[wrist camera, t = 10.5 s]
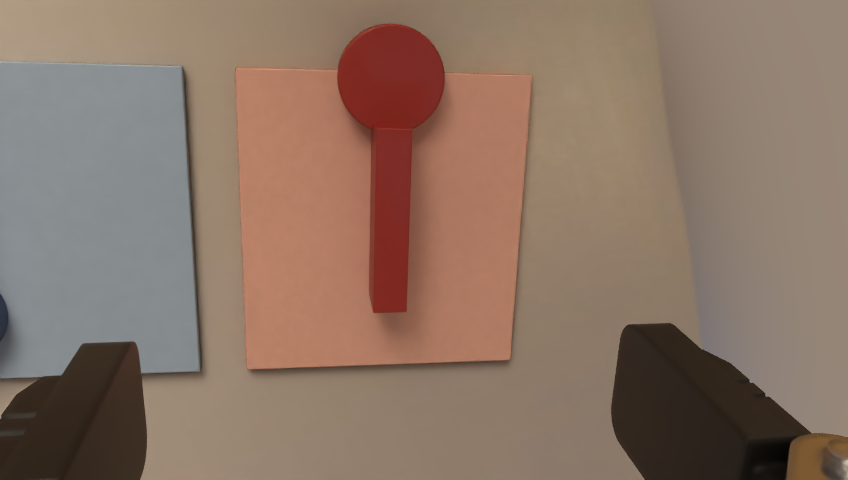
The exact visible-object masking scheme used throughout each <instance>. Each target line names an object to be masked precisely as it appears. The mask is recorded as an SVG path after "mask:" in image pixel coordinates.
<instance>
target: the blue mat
mask: <svg viewBox="0 0 848 480" xmlns="http://www.w3.org/2000/svg"><path fill="white" fill-rule="evenodd" d="M0 294H1V295H2V297H3V299H4V301H5V304H6V307H7V312H8V326H7V330H6V333H5V335H4V337H3V339H2V340H1V342H0V379H3V378H31V377H44V376H56V375H62V374H63V372H64V371H65V369H66V367H67V366H68V364H69V363H70V361H71V360H72V358H73V357H74V355H75V354H76V352H77V351H78V349H79V347H80V346H81V345H82V344H83V343H99V342H127V341H134V342H135V343H136V345H137V347H138V351H139V357H140V367H141V373H167V372H194V371H200V368H201V362H200V345H199V328H198V310H197V293H196V276H195V259H194V242H193V225H192V208H191V191H190V174H189V157H188V140H187V123H186V106H185V89H184V71H183V66H164V65H127V64H89V63H52V62H14V61H0Z"/></svg>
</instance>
